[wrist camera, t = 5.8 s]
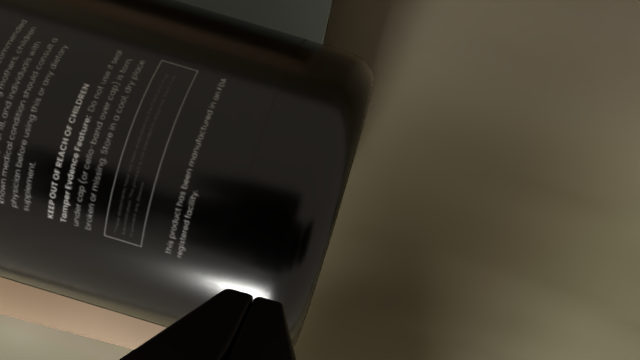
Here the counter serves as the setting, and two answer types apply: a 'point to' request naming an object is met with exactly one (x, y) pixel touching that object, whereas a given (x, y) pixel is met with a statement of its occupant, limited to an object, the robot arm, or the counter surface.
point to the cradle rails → (73, 315)
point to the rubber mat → (276, 14)
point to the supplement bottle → (170, 155)
